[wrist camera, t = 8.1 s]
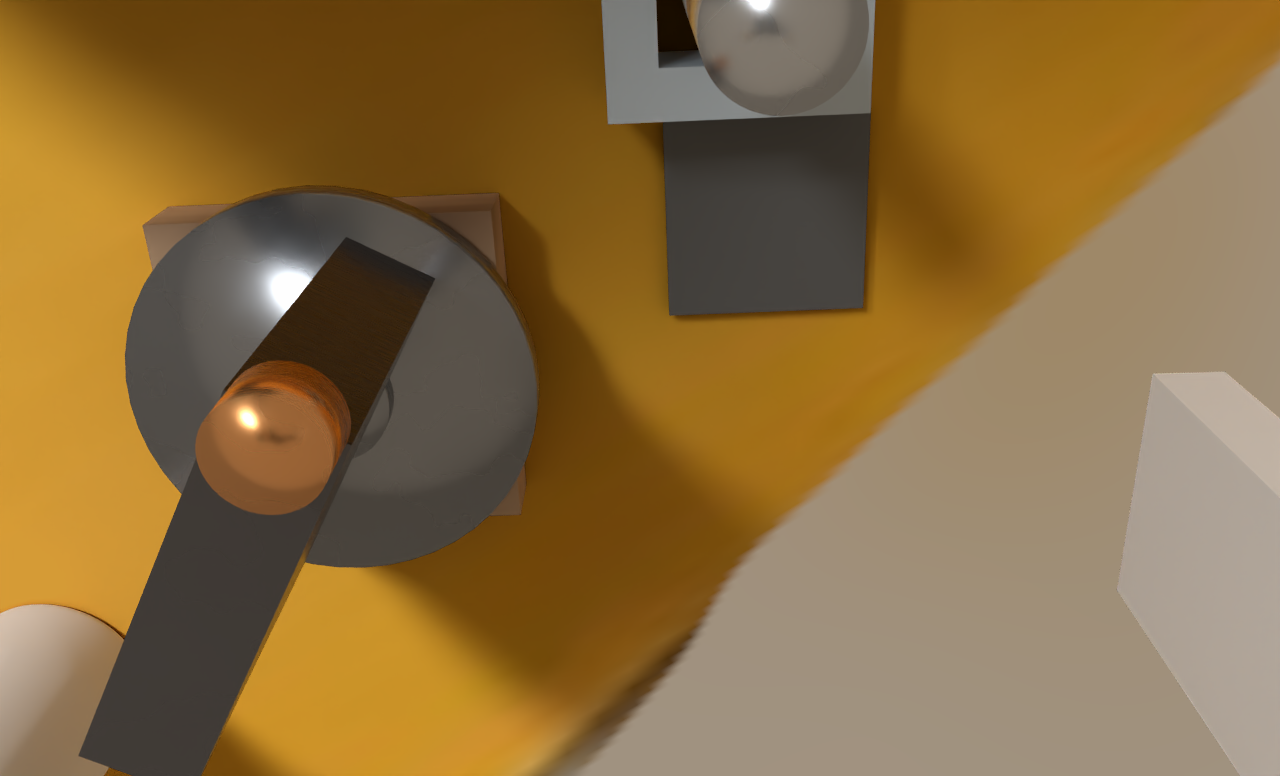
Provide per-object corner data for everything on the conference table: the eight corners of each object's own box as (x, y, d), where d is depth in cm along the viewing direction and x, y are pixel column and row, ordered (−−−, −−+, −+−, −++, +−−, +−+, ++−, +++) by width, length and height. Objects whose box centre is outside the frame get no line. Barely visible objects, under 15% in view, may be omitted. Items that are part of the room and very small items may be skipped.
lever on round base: (90, 457, 36) (-196, 763, 23) (215, 103, 31) (-59, 253, 19) (445, 603, 38) (353, 952, 26) (610, 293, 33) (593, 536, 21)
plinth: (168, 206, 35) (140, 226, 33) (498, 193, 34) (490, 212, 32) (231, 495, 39) (209, 528, 37) (526, 484, 39) (520, 517, 37)
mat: (662, 118, 34) (663, 121, 33) (868, 110, 33) (870, 112, 33) (669, 310, 36) (669, 315, 36) (860, 303, 36) (863, 307, 36)
